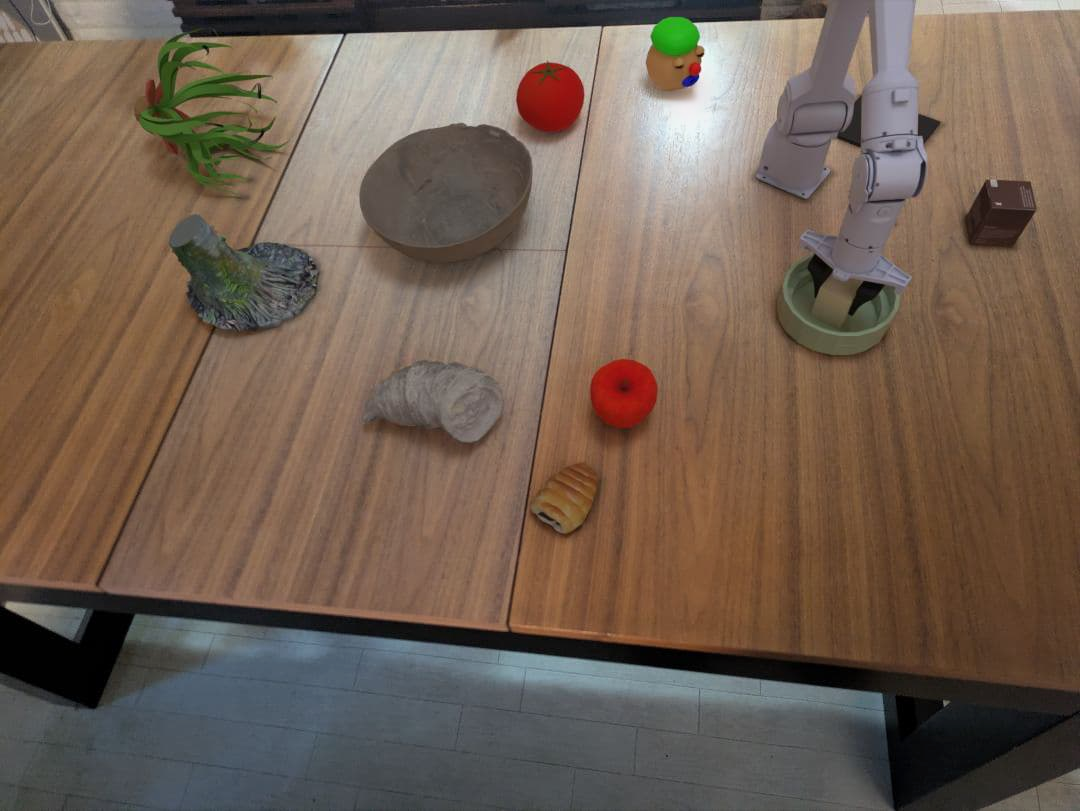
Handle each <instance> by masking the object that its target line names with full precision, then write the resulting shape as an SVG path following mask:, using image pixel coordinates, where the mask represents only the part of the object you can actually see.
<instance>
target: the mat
mask: <svg viewBox="0 0 1080 811" xmlns="http://www.w3.org/2000/svg"><path fill="white" fill-rule="evenodd" d="M861 111H862V94H861V95H860V96H859V97H858V98H856V99H855V102H854V110H853V116H852V120H851V122H850V124H849V126H848V127H847V128H846V130H845V131H843V132H839V131H838V135H837V138H836V139H837V140H838V139H839V140H841V141H844V142H846V143H849V144H852V145H854V146H856V147H859V148H861ZM940 125H941V120H938V119H935V118H932V117H929V116H927V115H924V114H921V113H918V136H922V139H923V145H925V143H926V142H927V141H928V140H929V138H930V137H931V136H932V135H933V133H934V132H935V131H936V130H937V128H938V127H939V126H940Z"/></svg>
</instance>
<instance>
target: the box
mask: <svg viewBox="0 0 1080 811" xmlns="http://www.w3.org/2000/svg"><path fill="white" fill-rule="evenodd" d="M1037 208H1038V207H1037V203H1036V199H1035V195H1034V190H1033V186H1032V182H1031V180H1029V181H1028V180H1009V179H1008V180H1007V179H985V180H984V182H983V185H982V186H981V188H980V190H979V191H978V194H977V195H976V197H975V199H974V200H973V203H972V204H971V206H970V208H969V210H968V212H967V214H966V216H965V219H966V225H967V231H968V232H967V233H968V237H969V243H970V244H971V245H982V246H983V245H985V246H999V247H1000V246H1001V247H1014V246H1015V244H1016V242H1017V241H1018V240H1019V238H1020V236H1021V235H1022V233H1023V232H1024V230H1025V229H1026V228H1027V226H1028V224H1029V222H1030V221H1031V220H1032V219H1033V217H1034V215H1035V214H1036V213H1037V211H1038V209H1037Z"/></svg>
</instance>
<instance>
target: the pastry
mask: <svg viewBox="0 0 1080 811" xmlns="http://www.w3.org/2000/svg"><path fill="white" fill-rule="evenodd" d="M598 483H599V479H598V475H597V473H596V471H595V469H593V468H592V467H591V466H589V464H588V463H586V462H584V461H582V462H579V463H578V462H576V463H573V464H571V465H570V466H566V467H564V468H563V469H562V470H561V471H559V472H557V473H556V474H555V475H553V477H552V478H550V479H548V480H547V481H546V484H545V485H544V486H543V488H540V489H539V490H538V491H537V492H536V497H535V500H534V501H533V503H532V504H530V510H531V512H532V513H533V514H535V515H536V516H537V517H538V519H539V520H540V521H541V522H543V523H545V524H547V525H550V526H552V527H553V529H554V531H557V532H558V533H560V534H569V533H572V532H573V531H574V530H576V529H577V528H578V527H580V526H581V525H582V524H583V523H584V522H585V519H586V518H587V516H588V514H589V513H590V510H591V508H592V506H593V503H594V499H595V497H596V494H597V491H598Z"/></svg>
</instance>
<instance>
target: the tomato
mask: <svg viewBox="0 0 1080 811" xmlns="http://www.w3.org/2000/svg"><path fill="white" fill-rule="evenodd" d="M584 101H585V88H584V83H583V82H582V79H581V78H580V76H579V75H578V73H577V72H576V71H575V70H574V69H573V68H571V67H570V65H569V66H568V65H565V64H562V63H559V62H549V60H548V59H547V60H546V62H542V63H539V64H537V65H535V66H533V67H532V68H530V69H529V70H528V71H526V73H525V74H524V76H522V78H521V80H520V82H519V84H518V86H517V90H516V97H515V102H516V107H517V111H518V113H519V115H520V117H521V119H522V120H523V122H525V123H526V124H527V125H529V126H530V127H532V128H534V129H536V130H538V131H541V132H545V133H556V132H561V131H563V130H566V129H568V128H570V127H571V126H572V125H573V124H574V123H575V122H576V120H577V119H578V118H579V116H580V113H581V111H582V109H583V107H584Z"/></svg>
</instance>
